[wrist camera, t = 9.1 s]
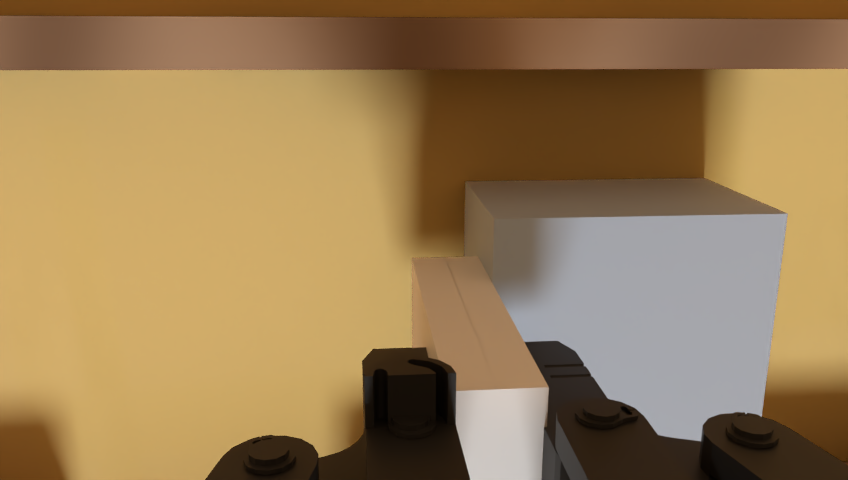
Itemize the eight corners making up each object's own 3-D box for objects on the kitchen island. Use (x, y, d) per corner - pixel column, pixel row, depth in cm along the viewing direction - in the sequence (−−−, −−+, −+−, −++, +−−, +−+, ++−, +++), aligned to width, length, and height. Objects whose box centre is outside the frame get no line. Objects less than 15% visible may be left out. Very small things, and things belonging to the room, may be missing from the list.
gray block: (460, 404, 21) (486, 490, 17) (465, 180, 19) (494, 218, 15) (680, 396, 21) (754, 477, 18) (702, 177, 20) (788, 213, 16)
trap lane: (-215, 770, 22) (-336, 931, 18) (-420, 14, 16) (-652, 13, 13) (912, 684, 25) (1016, 806, 21) (1050, 20, 19) (1223, 20, 16)
